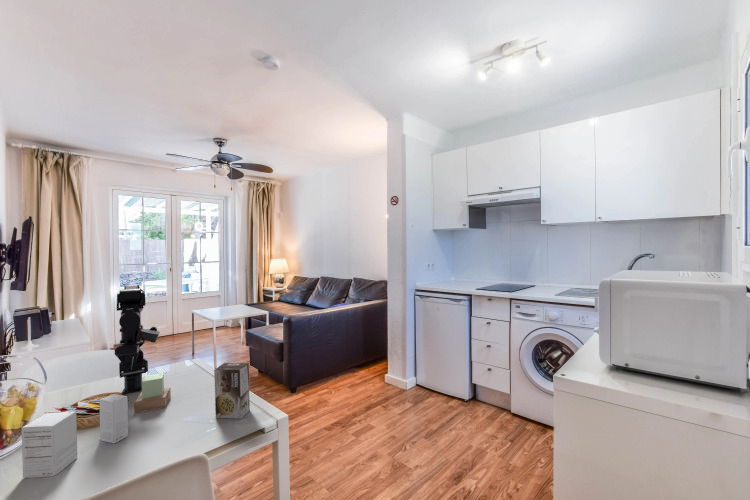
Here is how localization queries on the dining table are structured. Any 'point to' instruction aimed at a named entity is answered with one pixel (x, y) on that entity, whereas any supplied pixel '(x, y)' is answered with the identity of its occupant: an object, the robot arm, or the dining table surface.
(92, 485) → the dining table surface
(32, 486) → the dining table surface
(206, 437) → the dining table surface
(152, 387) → the sage cube
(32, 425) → the supplement box
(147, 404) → the walnut block
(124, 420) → the skincare box
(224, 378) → the grey cardboard box
